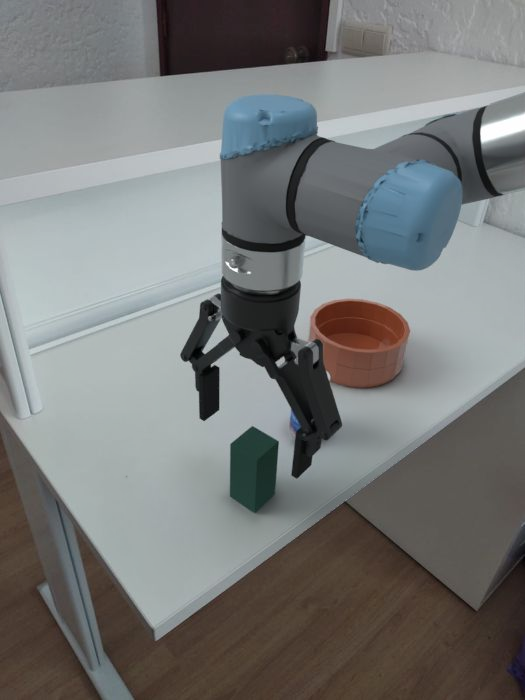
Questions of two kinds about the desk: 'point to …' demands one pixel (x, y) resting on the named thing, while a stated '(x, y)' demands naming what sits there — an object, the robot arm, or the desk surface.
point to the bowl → (360, 341)
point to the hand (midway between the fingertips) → (253, 441)
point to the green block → (253, 468)
